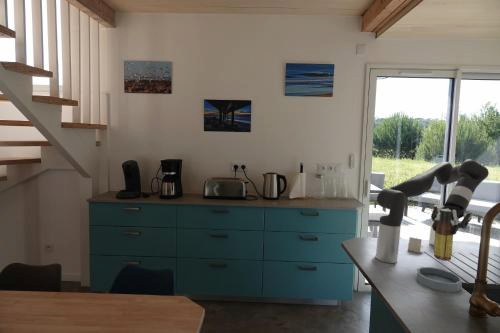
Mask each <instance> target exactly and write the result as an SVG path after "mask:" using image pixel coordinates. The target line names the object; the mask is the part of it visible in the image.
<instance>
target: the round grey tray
mask: <svg viewBox="0 0 500 333" xmlns="http://www.w3.org/2000/svg"><path fill="white" fill-rule="evenodd" d="M415 277H416V281H417V282H418V283H419V284H421V285H422V286H425V287H427V288H430V289H432V290H435V291H440V292H446V293H456V292H459V291H460V290H462V289H463V288H462V287H463V280H462V278H461V277H460V276H459V275H457V274H456V273H454V272H452V271H448V270H445V269H443V268H437V267H431V266H427V267H426V266H421V267H419V268H417V269H416V275H415Z"/></svg>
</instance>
